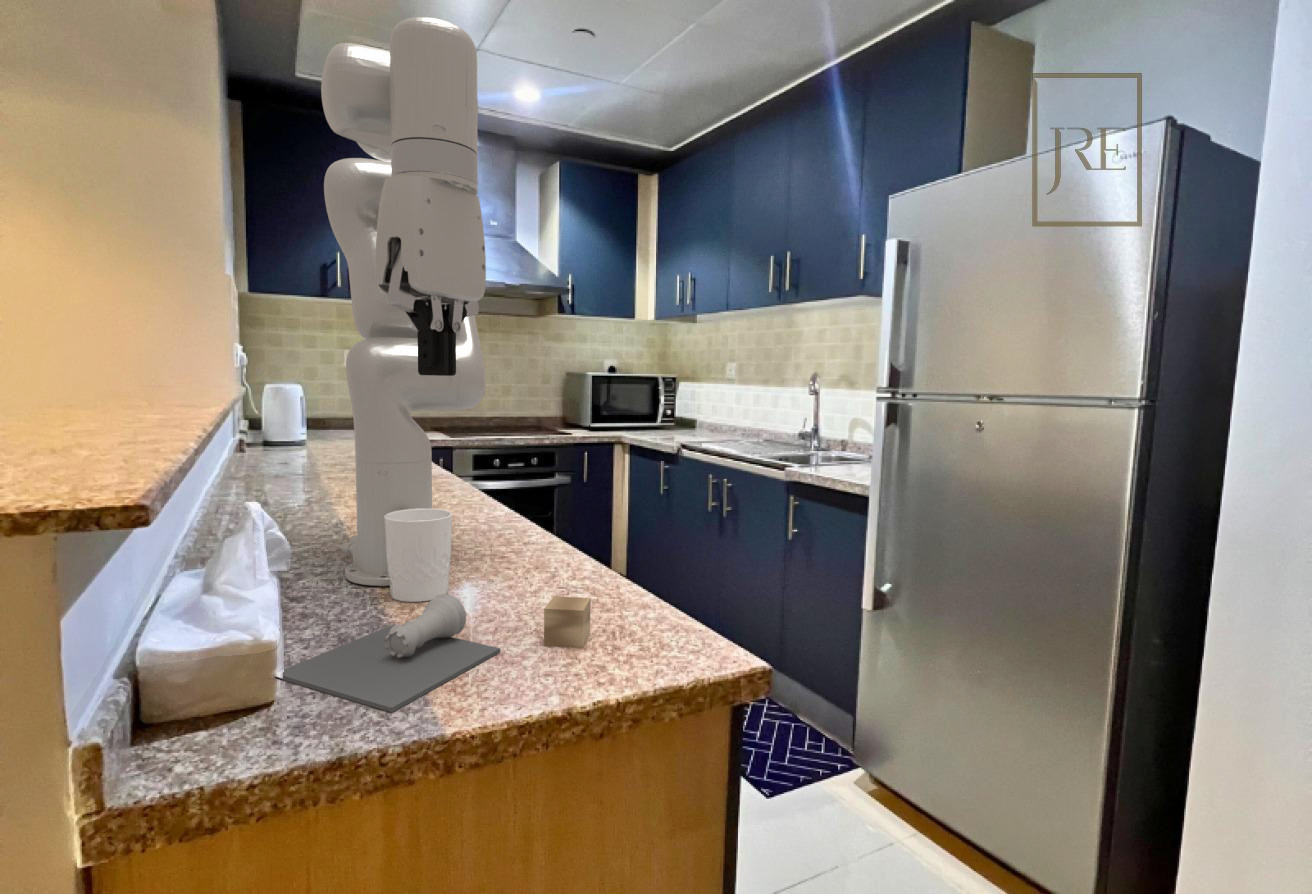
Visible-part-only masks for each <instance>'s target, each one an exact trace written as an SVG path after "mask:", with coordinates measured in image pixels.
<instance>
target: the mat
mask: <svg viewBox="0 0 1312 894" xmlns="http://www.w3.org/2000/svg"><path fill="white" fill-rule="evenodd" d="M395 625H397V624H396V623H394V624H392V625H391V624H390V625H389V626H386V627H384V628H381V629H378V630H376V631H373V632H372V633H368V634H367V635H364V636H362V637H359V638H357V639H354V640H353V641H349V642H346V643H345V644H343V645H339V646H337V647H335V648H332V649H330V650H328V651H324V652H323V653H320V654H318V655H316V656H313V657H311V658H308V659H306V660H305V659H304V660H303V661H301V662H298V663H296V664H294V665H291V666H288V667H286V668H283V669H284V672H283V680H282V681H285V682H289V683H292V684H294V685H299V686H302V687H305V688H307V689H312V690H315V691H318V692H322V693H325V694H327V695H328V694H329V695H331V696H335V697H339V698H342V699H345V700H349V701H352V702H355V703H359V704H362V705H365V706H368V707H372V708H376V709H379V710H381V711H385V712H388V713H394V712H395V711H397V710H399V709H401V708H403V707H404V706H406V705H408V704H410V703H412V702H413V701H416V700H417V699H419V698H421V697H423V696H424V695H426V694H428V693H431V691H433V690H435V689H437V688H438V686H439V687H440V686H442V685H444V684H446V683H447V682H449V681H451V680H452V679H455V678H456V677H458V676H460V675H462V674H464V673H466V672H468V671H469V670H471V669H473V668H474V666H475V667H476V666H478V665H480V664H482V663H484V662H485V661H487V660H489V659H491V658H492V656H493V657H494V656H496V655H497V654H500V653H501V647H496V646H492V645H487V644H483V643H479V642H474V641H470V640H466V639H461V638H457V637H454V636H453V637H449V638H434V639H431V640H429V641H426V642H425V643H424V645H423V646H422V647H421V648H416V649H415V652H414V654H413V655H412V656H411V657H406V658H405V657H401V658H397V655H396V656H394V657H392V656H391V655H390V653H391V652H392V650H391V649H390V648H389V649H387V650H386V648H385V645H386V644H388V641H385V637H386V636H387V635H389V634H388V633H390V630H391V628H392V627H393V626H395ZM499 652H500V653H499ZM483 661H484V662H483ZM481 662H482V663H481ZM479 663H480V664H479ZM477 664H478V665H477ZM472 667H473V668H472ZM470 668H471V669H470ZM465 671H466V672H465ZM445 682H446V683H445ZM422 695H423V696H422Z"/></svg>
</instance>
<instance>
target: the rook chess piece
mask: <svg viewBox="0 0 1312 894" xmlns="http://www.w3.org/2000/svg"><path fill="white" fill-rule="evenodd" d="M466 621H467V611H466V609H465V606H464V604H463V603H462V602H461V600H460V599H459V598H457V597H455V596H454V595H451V594H441V595H438V596H437V597H436V598H434V599H432V600H429V602H428V603H426V605H425V607H424V609H423V611H422V613H421V614H420V615H419V616H418V617H416V618H415V619H413V620H408V621H406V622H405V623H403V625H401V624H396V625H395V626H393V627H392V628H391V630H390V633H388V634H389V635H387V636H386V637H385V641H388V644H386V645H385V648H386V650H387V649H389V648H390V649H391V650H392V652H391V653H390V655H391V656H392V657H394V656H396V655H397V658H401V657H405V658H406V657H411V656H412V655H413V654H414V652H415V649H416V648H421V647H422V646H423V645H424V643H425V642H426V641H429V640H431V639H434V638H449V637H453V638H454V636H455V635H459V634H460V633H461V632H462V631H463V630H464V628H465V625H466V623H467V622H466Z"/></svg>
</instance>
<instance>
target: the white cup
mask: <svg viewBox="0 0 1312 894" xmlns="http://www.w3.org/2000/svg"><path fill="white" fill-rule="evenodd" d="M384 521H385V536H386V552H387V562H388V573H389V576H390V586H389V591H390V592H389V593H390V597H391V598H392V599H393V600H396V601H398V602H404V603H405V602H406V603H421V602H422V601H423V602H428V601H429V602H430V601H431V600H432V599H434V598H436V597H437V596H438V595H441V594H447V593H448V592H449V586H450V585H449V583H450V574H449V573H450V570H451V556H452V537H453V536H452V533H453V512H452V511H450V510H446V509H441V508H432V509H407V510H400V511H394V512H391V513H388V514H386V515H385V516H384Z"/></svg>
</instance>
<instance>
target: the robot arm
mask: <svg viewBox="0 0 1312 894" xmlns="http://www.w3.org/2000/svg"><path fill="white" fill-rule="evenodd" d="M388 49H389V50H388ZM388 49H384V48H380V47H374V46H369V45H363V44H358V43H353V42H342V43H341V42H340V43H337V44H336V45H334V46H333V47H332V48H331V49H330V50H329V52H328V54H327V56H326V59H325V62H324V65H323V70H322V74H321V86H320V89H321V91H320V93H321V103H322V108H323V113H324V116H325V119H326V121H327V124H328V125H329V127H330V129H331V130H332V131H333V133H335V134H336V135H339V136H341V137H343V138H346V139H348V140H350V141H351V140H352V141H354V142H356V144H357V145H358V146H359V147H360V148H361V149H362V150H363V152H365V153H366V154H368V156H370V157H372V158H363V157H350V158H349V157H348V158H342V159H339V160H336V161H334V162H333V163H331V164H330V165H329V166H328V168H327V170H326V172H325V175H324V181H323V193H324V194H323V195H324V201H325V208H326V213H327V216H328V221H329V224H330V227H331V229H332V232H333V235H334V238H335V239H336V242H337V243H338V246H339V247H340V250H341V251H342V254H343V255H344V258H345V259H346V262H347V266H348V276H349V277H348V278H349V288H350V298H351V299H350V300H351V310H352V317H353V321H354V325H355V327H356V330H357V332H358V333H359V335H360V336H361V338H363V339H362V340H360V341H358V342H356V343H355V344H354V345H353V346H351V347H350V349H349V351H348V352H347V354H346V360H345V374H346V381H347V386H348V387H347V388H348V393H349V398H350V403H351V409H352V417H353V418H352V419H353V429H354V449H355V450H354V451H355V453H354V454H355V458H354V459H355V494H356V496H355V497H356V498H355V499H356V501H355V502H356V535H353V536H352V535H351V537H350V538H349V540H348V542H344V543H342V545H341V551H342V552H343V553H347V554H352V562H351V563H350V564H348V565H346V567H345V569H344V573H345V574H344V577H345V579H346V580H348V581H349V582H352V583H354V584H358V585H362V586H371V587H374V586H375V587H376V586H377V587H390V576H389V573H388V562H387V552H386V536H385V521H384V516H385V515H386V514H388V513H391V512H394V511H400V510H407V509H433V469H432V464H433V463H432V462H433V461H432V459H433V457H432V455H433V454H432V453H433V452H432V445H431V444H432V443H431V441H430V438H429V436H428V434H427V433H426V432H425V431H424V429H423V428H422V427H421V426H420V425H419V424H418V423H417V422H416V420H414V418H413V417H412V415H411V413H412V412H415V411H416V412H419V411H420V412H421V411H461V410H470V409H473V408H475V407H477V405H479V404H480V403H481V401H482V400H483V398H484V396H485V395H484V394H485V390H486V370H485V363H484V362H485V361H484V357H483V352H482V348H481V341H480V337H479V332H478V326H477V322H476V321H477V320H476V315H478V314H479V313H480V306H479V301H480V300H481V299H482V298H483V297H484V296H485V295H484V294H485V292H486V285H487V284H486V281H487V280H486V279H487V265H486V262H487V260H486V259H487V258H486V243H485V242H486V241H485V231H484V223H483V216H482V209H481V201H480V197H479V196H478V193H479V192H478V186H479V185H478V184H479V179H478V177H479V176H478V172H479V171H478V168H479V167H478V153H479V152H478V149H479V148H478V119H479V118H478V116H479V100H478V98H479V97H478V54H477V48H476V45H475V42H474V41H473V39H472V37H471V36H470V35H469V34H468V32H467V31H465V30H464V29H462V27H460V26H458V25H457V24H455V23H453V22H449V21H447V20H443V19H440V18H436V17H430V16H429V17H428V16H417V17H416V16H413V17H408V18H406V19H403V20H401V21H399V22H398V23H397V24H396V25H395V26H394V28H393V29H392V30H391V33H390V37H389V48H388ZM373 158H374V159H373Z"/></svg>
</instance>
